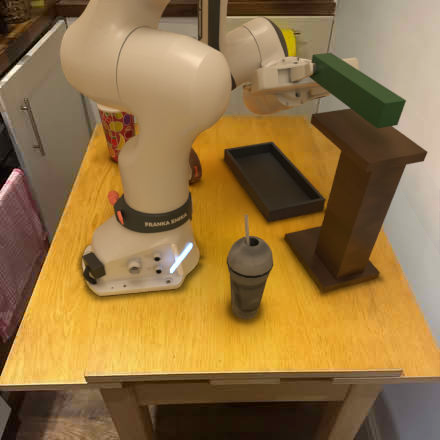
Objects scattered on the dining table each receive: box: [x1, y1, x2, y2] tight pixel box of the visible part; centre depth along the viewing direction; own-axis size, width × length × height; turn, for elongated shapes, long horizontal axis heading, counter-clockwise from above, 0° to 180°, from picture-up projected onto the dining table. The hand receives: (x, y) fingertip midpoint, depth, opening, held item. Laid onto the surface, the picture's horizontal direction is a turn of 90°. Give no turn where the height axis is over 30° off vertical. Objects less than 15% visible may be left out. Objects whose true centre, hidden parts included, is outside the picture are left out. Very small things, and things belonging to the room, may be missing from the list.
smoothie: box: [96, 103, 136, 163], centre depth 98 cm, size 8×8×20 cm
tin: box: [189, 147, 203, 184], centre depth 98 cm, size 15×3×8 cm, turn 34°
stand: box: [284, 108, 429, 293], centre depth 72 cm, size 12×16×26 cm
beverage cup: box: [226, 214, 274, 320], centre depth 64 cm, size 7×7×20 cm
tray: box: [223, 141, 327, 223], centre depth 98 cm, size 14×28×3 cm, turn 20°
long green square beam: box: [309, 52, 407, 128], centre depth 63 cm, size 4×20×4 cm, turn 20°
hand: (327, 66), depth 67 cm, fingers closed on long green square beam, 3 cm apart
